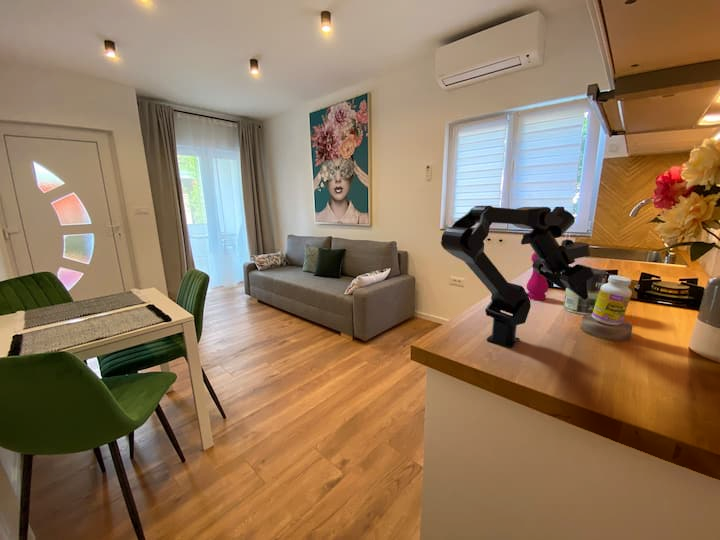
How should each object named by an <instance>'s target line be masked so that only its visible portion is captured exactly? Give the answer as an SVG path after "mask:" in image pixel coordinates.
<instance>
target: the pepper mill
mask: <svg viewBox="0 0 720 540" xmlns="http://www.w3.org/2000/svg"><path fill="white" fill-rule="evenodd" d="M534 255H536V253H535V252H534V253H532V255H531V258H530V259H531V262H532V264H531V266H532V265H533V262H535V261H537V260H538V259H536V258H535V256H534ZM547 280H548V279H546V278H545V277H543V276H542V275H540V274H539V273H538V272H536V271H535V270H534V269H533V268H532V274H531V276H530V278H529V280H528V281H527V284H526V289H527V291H528V292H526V293H527V294H529V296H528V297H529V298H530V300H531V299H534V300H533V301H537V300H543V301H545V300H546V298H547V294H545V293H547V292H548V291H549V284H548V281H547Z"/></svg>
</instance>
